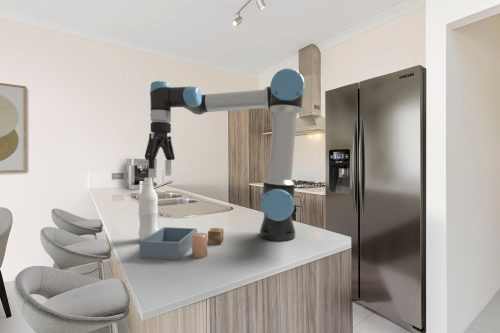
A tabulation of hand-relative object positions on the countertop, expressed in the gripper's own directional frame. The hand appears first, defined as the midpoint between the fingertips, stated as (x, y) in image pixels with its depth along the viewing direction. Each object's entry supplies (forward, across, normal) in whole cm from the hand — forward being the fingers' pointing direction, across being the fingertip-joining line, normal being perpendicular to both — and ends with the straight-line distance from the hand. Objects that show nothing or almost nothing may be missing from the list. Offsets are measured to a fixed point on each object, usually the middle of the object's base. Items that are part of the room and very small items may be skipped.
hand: (161, 176), depth 100 cm
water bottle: (+26, 0, -6) cm, 26 cm away
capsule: (+26, +13, +20) cm, 35 cm away
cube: (+26, -1, +22) cm, 34 cm away
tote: (+26, +9, +8) cm, 28 cm away
